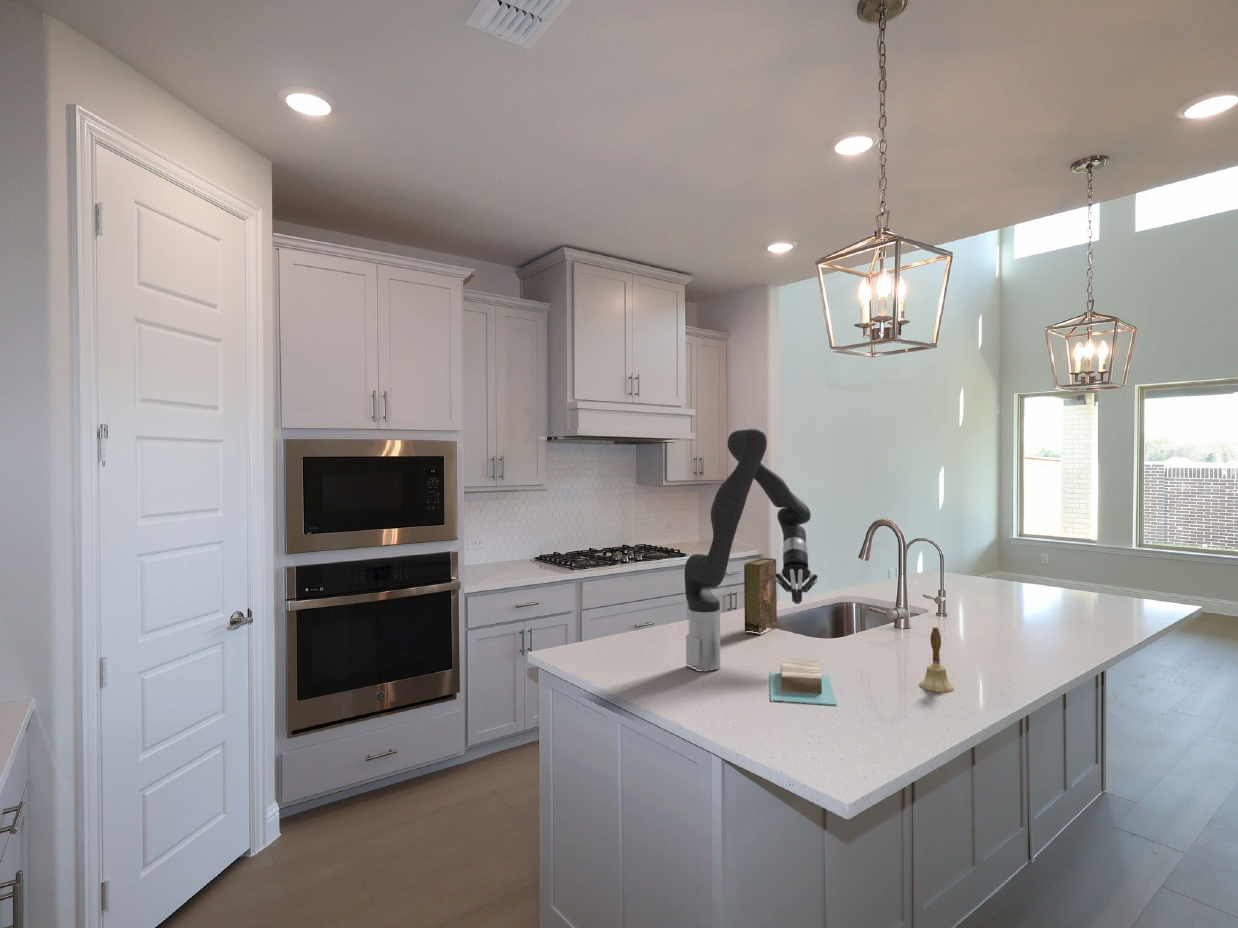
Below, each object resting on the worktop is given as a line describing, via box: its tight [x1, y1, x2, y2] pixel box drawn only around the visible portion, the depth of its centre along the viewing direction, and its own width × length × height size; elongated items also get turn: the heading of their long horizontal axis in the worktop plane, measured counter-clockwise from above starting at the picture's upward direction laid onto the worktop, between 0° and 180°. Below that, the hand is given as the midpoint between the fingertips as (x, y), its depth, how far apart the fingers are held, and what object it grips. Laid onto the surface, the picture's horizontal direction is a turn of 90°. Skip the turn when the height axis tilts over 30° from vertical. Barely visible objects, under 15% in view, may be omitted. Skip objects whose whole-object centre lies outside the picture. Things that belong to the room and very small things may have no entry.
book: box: [743, 557, 778, 633], centre depth 237 cm, size 16×6×25 cm, turn 143°
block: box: [780, 657, 822, 694], centre depth 178 cm, size 4×10×16 cm
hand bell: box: [919, 626, 955, 693], centre depth 175 cm, size 8×8×16 cm
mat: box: [769, 672, 838, 707], centre depth 174 cm, size 22×16×1 cm
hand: (797, 602), depth 193 cm, fingers closed
